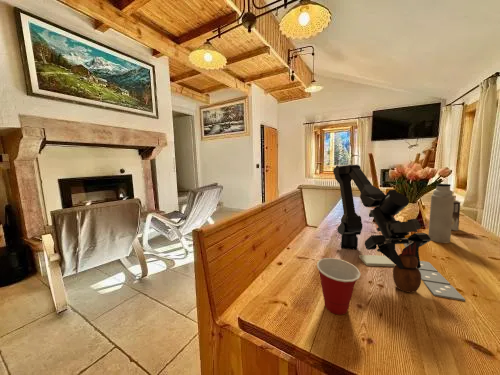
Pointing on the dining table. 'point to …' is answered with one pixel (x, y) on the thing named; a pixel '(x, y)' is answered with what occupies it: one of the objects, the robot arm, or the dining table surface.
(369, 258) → the folded napkin
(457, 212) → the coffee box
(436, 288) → the pad
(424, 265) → the pad
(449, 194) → the thermos bottle
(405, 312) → the dining table surface
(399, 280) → the wooden figurine
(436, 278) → the pad
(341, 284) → the plastic cup
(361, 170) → the robot arm
